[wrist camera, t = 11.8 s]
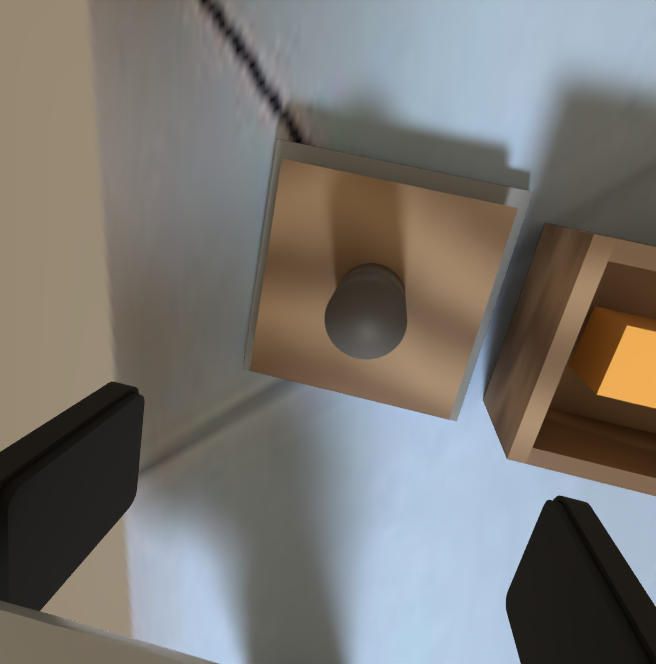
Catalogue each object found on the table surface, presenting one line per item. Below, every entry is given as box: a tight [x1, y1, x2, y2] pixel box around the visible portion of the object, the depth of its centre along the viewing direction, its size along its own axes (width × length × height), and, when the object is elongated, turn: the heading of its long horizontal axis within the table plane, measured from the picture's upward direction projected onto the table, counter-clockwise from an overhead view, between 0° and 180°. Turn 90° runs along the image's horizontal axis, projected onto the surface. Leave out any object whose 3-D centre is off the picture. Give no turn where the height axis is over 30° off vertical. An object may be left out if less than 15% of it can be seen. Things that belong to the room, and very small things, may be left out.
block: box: [570, 306, 656, 408], centre depth 25 cm, size 4×4×4 cm
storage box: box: [483, 223, 656, 496], centre depth 25 cm, size 12×12×7 cm
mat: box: [243, 139, 533, 421], centre depth 29 cm, size 15×15×1 cm
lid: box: [250, 159, 518, 419], centre depth 25 cm, size 13×13×7 cm
